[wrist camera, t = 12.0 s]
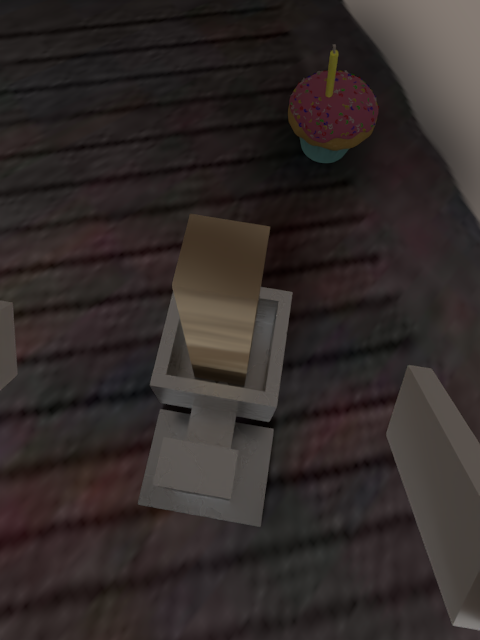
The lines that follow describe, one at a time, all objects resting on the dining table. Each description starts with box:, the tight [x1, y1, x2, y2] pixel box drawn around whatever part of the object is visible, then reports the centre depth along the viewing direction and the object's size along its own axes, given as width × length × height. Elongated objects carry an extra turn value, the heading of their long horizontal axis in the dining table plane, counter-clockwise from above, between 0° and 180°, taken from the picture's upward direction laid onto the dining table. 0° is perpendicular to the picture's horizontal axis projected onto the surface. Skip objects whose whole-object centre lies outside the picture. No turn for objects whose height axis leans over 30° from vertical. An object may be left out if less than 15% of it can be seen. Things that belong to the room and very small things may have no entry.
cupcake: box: [288, 44, 379, 163], centre depth 42 cm, size 9×8×12 cm
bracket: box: [138, 287, 293, 527], centre depth 31 cm, size 14×9×12 cm, turn 170°
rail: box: [172, 214, 270, 386], centre depth 25 cm, size 4×4×14 cm
